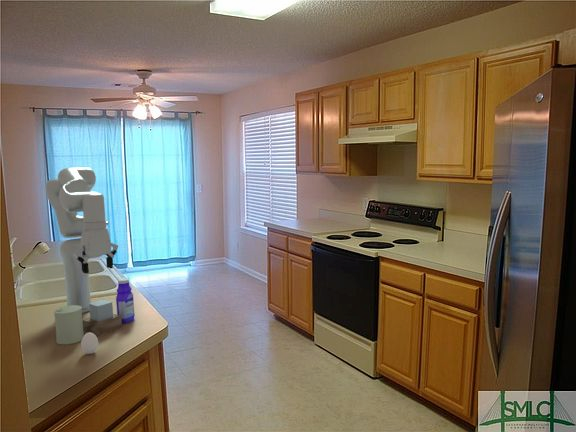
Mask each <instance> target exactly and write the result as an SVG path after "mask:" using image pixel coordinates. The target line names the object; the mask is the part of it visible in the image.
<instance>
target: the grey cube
mask: <svg viewBox="0 0 576 432" xmlns="http://www.w3.org/2000/svg"><path fill="white" fill-rule="evenodd" d="M89 308H90V311H89V317H90V319H93V320H95V321H98V322H99V321H103V320H106V319H109V318H112V317H113V314H114V310H113V309H114V308H113V302H112V301H109V300H107V299H101V300H98V301H94V302H91V303H89Z"/></svg>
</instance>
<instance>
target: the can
mask: <svg viewBox="0 0 576 432" xmlns="http://www.w3.org/2000/svg"><path fill="white" fill-rule="evenodd" d="M53 313H54V321H55V323H54V324H55V336H56V340H55V341H56V342H55V343H56V344H58V345H72V344H76V343H78V342H80V341H82V338H83V337H84V335H85V334H84V333H85V332H83V321H82V320H83V313H82V307H81V306H78V305H70V306H67V305H64V306H60V307H57V308H56V309H54V310H53Z"/></svg>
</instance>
